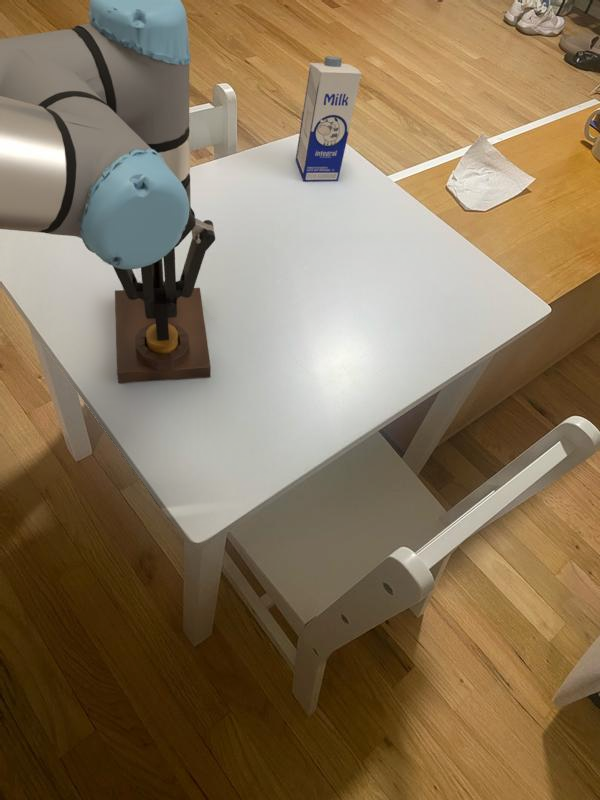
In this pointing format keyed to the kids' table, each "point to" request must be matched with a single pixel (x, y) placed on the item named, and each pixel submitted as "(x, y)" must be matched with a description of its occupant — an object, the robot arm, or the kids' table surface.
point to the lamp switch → (162, 345)
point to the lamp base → (149, 366)
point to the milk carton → (326, 118)
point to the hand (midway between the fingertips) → (162, 332)
